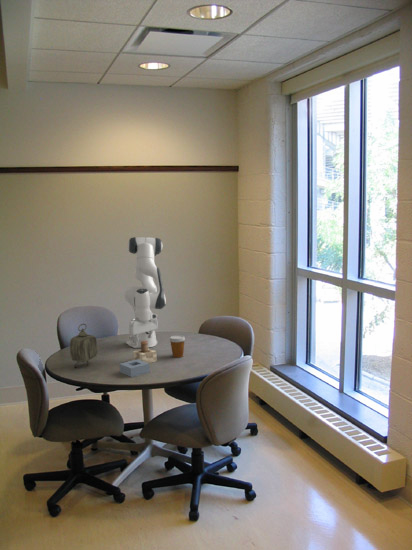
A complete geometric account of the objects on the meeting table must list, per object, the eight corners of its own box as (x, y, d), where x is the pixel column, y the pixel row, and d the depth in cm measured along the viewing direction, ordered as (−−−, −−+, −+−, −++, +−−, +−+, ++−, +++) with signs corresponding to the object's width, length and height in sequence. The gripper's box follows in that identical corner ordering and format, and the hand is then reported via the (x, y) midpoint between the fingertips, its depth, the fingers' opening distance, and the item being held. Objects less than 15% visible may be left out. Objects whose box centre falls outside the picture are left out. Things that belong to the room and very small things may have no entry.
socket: (120, 372, 316) (119, 363, 316) (138, 367, 324) (137, 359, 323) (131, 377, 307) (131, 368, 306) (149, 372, 315) (149, 363, 314)
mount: (133, 361, 337) (132, 351, 336) (147, 357, 343) (147, 348, 342) (142, 364, 329) (142, 354, 328) (156, 361, 335) (156, 351, 335)
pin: (140, 361, 336) (139, 341, 335) (146, 359, 339) (145, 340, 337) (144, 362, 333) (143, 342, 332) (149, 361, 336) (148, 341, 334)
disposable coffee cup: (183, 358, 338) (183, 339, 337) (168, 358, 340) (167, 338, 339) (187, 354, 348) (186, 335, 346) (172, 353, 350) (171, 335, 348)
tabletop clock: (87, 361, 340) (84, 320, 336) (99, 362, 335) (96, 321, 332) (71, 368, 327) (68, 326, 323) (83, 370, 323) (80, 327, 319)
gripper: (133, 320, 322) (134, 343, 324) (159, 314, 338) (159, 337, 339) (126, 318, 326) (127, 342, 328) (151, 313, 342) (152, 335, 343)
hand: (144, 339), depth 334 cm, fingers open, 8 cm apart
